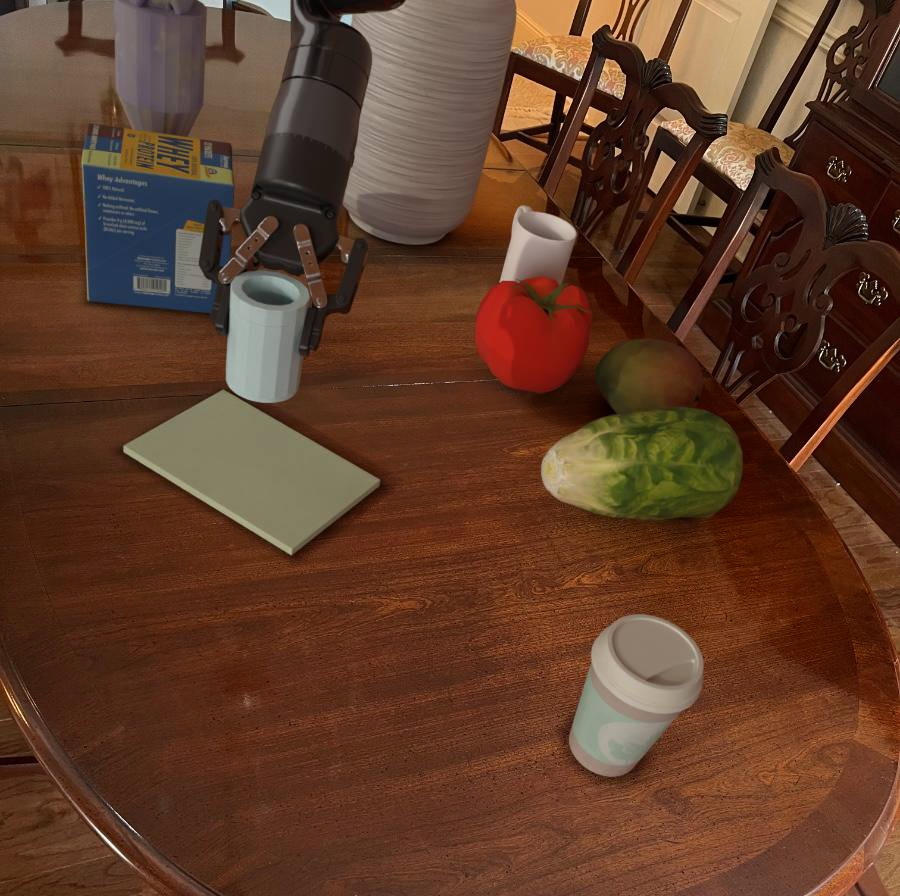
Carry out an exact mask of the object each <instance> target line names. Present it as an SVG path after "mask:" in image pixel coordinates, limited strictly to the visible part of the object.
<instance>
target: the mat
mask: <svg viewBox="0 0 900 896" xmlns="http://www.w3.org/2000/svg"><path fill="white" fill-rule="evenodd" d="M123 453H124V454H126V455H128V457H131V458H132V459H134V460H135V461H137V462H139V463H140V464H142V465H144V466H145V467H146V468H149V469H151V470H152V471H154V472H155V473H157V474H158V475H160V476H162V477H163V478H165V479H167V480H168V481H169V482H171V483H173V484H175V485H176V486H178V487H180V488H181V489H182V490H184V491H186V492H187V493H189V494H191V495H192V496H194V497H196V498H197V499H199V500H201V501H202V502H204V503H205V504H207V505H208V506H210V507H212V508H213V509H215V510H217V511H219V512H220V513H222V514H223V515H225V516H227V517H228V518H230V519H232V521H235V522H236V523H238V524H239V525H242V526H243V527H245V528H246V529H248V530H249V531H251V532H252V533H255V534H256V535H257V536H259V537H260V538H262V539H264V540H266V541H267V542H269V543H270V544H272V545H274V546H276V547H277V548H278V549H280V550H282V551H284V552H285V553H286V554H289V555H290V556H293V555H294V554H295V553H297V552H298V551H299V550H301V549H302V548H303V547H304V546H305V545H307V544H308V543H309V542H311V541H312V540H313V539H315V537H317V536H318V535H320V534H321V533H322V532H323V531H324V530H326V529H327V528H328V527H329V526H331V525H332V524H333V523H334V522H336V521H338V519H340V518H341V517H342V516H344V515H345V514H346V513H347V512H348V511H350V510H351V509H352V508H353V507H355V506H356V505H357V504H359V503H360V502H361V501H363V499H365V498H367V496H369V495H370V494H371V493H372V492H374V491H375V490H376V489H378V488H379V487H380V485H381V479H380V478H378V477H376V476H374V475H373V474H371V473H369V472H368V471H366V470H364V469H362V468H361V467H359V466H357V465H355V464H353V463H352V462H350V461H349V460H347V459H345V458H343V457H341V456H340V455H339V454H337V453H334V452H333V451H331V450H329V449H328V448H325V447H324V446H322V445H321V444H319V443H317V442H315V441H314V440H312V439H310V438H309V437H306V436H305V435H303V434H302V433H300V432H298V431H296V430H294V429H293V428H291V427H289V426H287V425H286V424H284V423H283V422H281V421H279V420H277V419H275V418H273V417H272V416H271V415H269V414H267V413H265V412H263V411H262V410H260V409H258V408H256V407H254V406H253V405H251V404H249V403H248V402H246V401H244V400H243V399H240V398H239V397H237V396H235V395H233V394H232V393H230V392H229V391H226V390H225V389H222V390H220V391H218V392H216V393H215V394H213V395H211V396H209V397H208V398H205V399H203V400H202V401H200V402H199V403H196V404H194V405H193V406H191V407H189V408H188V409H186V410H184V411H182V412H181V413H179V414H177V415H175V416H173V417H171V418H169V419H168V420H167V421H165V422H163V423H161V424H159V425H158V426H156V427H154V428H153V429H150V430H148V431H147V432H145V433H143V434H142V435H140V436H138V437H137V438H134V439H133V440H131V441H128V442H127V443H125V444H123Z"/></svg>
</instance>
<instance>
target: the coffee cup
mask: <svg viewBox="0 0 900 896" xmlns="http://www.w3.org/2000/svg"><path fill="white" fill-rule="evenodd" d="M590 660H591V662H590V665H589V669H588V671H587V675H586V678H585V682H584V685H583V687H582V691H581V695H580V698H579V701H578V705H577V708H576V711H575V715H574V718H573V722H572V725H571V728H570V731H569V736H568V745H569V748H570V751H571V753H572V755H573V756H574V758H575V759H576V761H577V762H579V764H581V765H582V766H583V767H584V768H585V769H586V770H589V772H591V773H594V774H596V775H600V776H603V777H608V778H609V777H610V778H615V777H621V776H624V775H626V774H628V773H629V772H631V771H632V770H633V769H634V768H635V767H636V765H638V763H639V762H640V761H641V760H642V758H643V757H644V756H646V754H647V753H648V752H649V750H651V748H652V746H654V745H655V743H656V742H657V741H658V740H659V738H660V737H661V736H662V735H663V734H664V733H665V731H666V730H668V728H669V727H670V725H672V723H673V722H674V721H675V720H676V719H677V717H678V716H679V715H680V714H681V713H682V711H684V710H687V709H689V708H690V707H691V706H693V705H694V703H695V702H697V700H698V698H699V696H700V694H701V690H702V688H703V684H704V669H705V661H704V657H703V654H702V652H701V649H700V648H699V646H698V645H697V643H696V642H695V641H694V639H693V638H692V637H691V636H690V635H689V634H688V633H687V632H686V631H685V630H684V629H682V628H681V627H680V626H679V625H676V624H675V623H673V622H671V621H669V620H666V619H664V618H662V617H660V616H655V615H651V614H646V613H645V614H644V613H643V614H642V613H634V614H628V615H624V616H622V617H620V618H618V619H616V620H614V622H612V623H611V624H610V625H608V626H607V627H606V628H604V629H603V630H602V631H601V632H600V634H599V635H598V636H597V637H596V638H595V640H594V641H593V643H592V646H591V652H590Z"/></svg>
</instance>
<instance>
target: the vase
mask: <svg viewBox="0 0 900 896" xmlns="http://www.w3.org/2000/svg"><path fill="white" fill-rule="evenodd" d="M517 12H518V11H517V3H516V0H406V1H405V3H404V4H403V5H401V6H400V7H399V8H397V9H395V10H391V11H388V12H380V13H363V14H351V22H350V26H352V27H354V28H355V29H356V30H358V31H359V32H360V33H361V34H362V35H363V36H364V37H365V38H366V39H367V41H368V42H369V44H370V47H371V50H372V68H371V73H370V78H369V82H368V86H367V90H366V95H365V99H364V103H363V107H362V111H361V115H360V121H359V130H358V139H357V145H356V149H355V153H354V154H355V159H354V163H353V166H352V168H351V170H350V174H349V178H348V183H347V187H346V191H345V195H344V199H343V204H342V206H343V207H344V208H345V209H346V211H348V215H349V217H350V219H351V220H352V222H353V223H354V224H355V225H356V226H357V227H359V228H360V229H362V230H363V231H365V232H366V233H368V234H370V235H372V236H374V237H377V238H379V239H382V240H385V241H388V242H393V243H398V244H403V245H412V246H414V245H415V246H416V245H420V246H421V245H429V244H433V243H436V242H438V241H440V240H441V239H443V238H444V237H445V236H446V235H447V234H448V233H450V232H453V231H454V230H456V229H457V228H458V227H460V226H461V225H462V224H463V223H464V222H465V221H466V220H467V218H468V216H469V215H470V214H471V211H472V209H473V206H474V204H475V200H476V197H477V193H478V190H479V186H480V183H481V178H482V174H483V170H484V167H485V162H486V158H487V155H488V151H489V147H490V143H491V138H492V134H493V130H494V126H495V122H496V118H497V117H496V116H497V113H498V109H499V104H500V101H501V96H502V92H503V87H504V82H505V78H506V75H507V74H506V73H507V70H508V66H509V61H510V56H511V51H512V46H513V41H514V36H515V30H516V26H517V25H516V24H517Z"/></svg>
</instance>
